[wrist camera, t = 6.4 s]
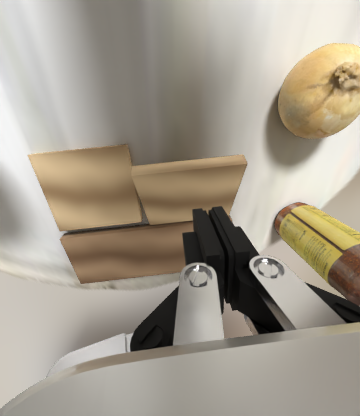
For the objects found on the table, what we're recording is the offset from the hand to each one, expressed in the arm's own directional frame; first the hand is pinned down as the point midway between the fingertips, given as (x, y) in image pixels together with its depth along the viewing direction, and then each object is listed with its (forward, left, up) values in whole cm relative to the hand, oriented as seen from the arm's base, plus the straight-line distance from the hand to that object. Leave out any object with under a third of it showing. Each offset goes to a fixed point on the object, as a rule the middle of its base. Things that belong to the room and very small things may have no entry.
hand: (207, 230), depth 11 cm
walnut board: (+12, -6, -14) cm, 20 cm away
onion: (-6, +14, -15) cm, 21 cm away
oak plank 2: (+2, 0, -12) cm, 12 cm away
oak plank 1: (+2, -12, -15) cm, 19 cm away
